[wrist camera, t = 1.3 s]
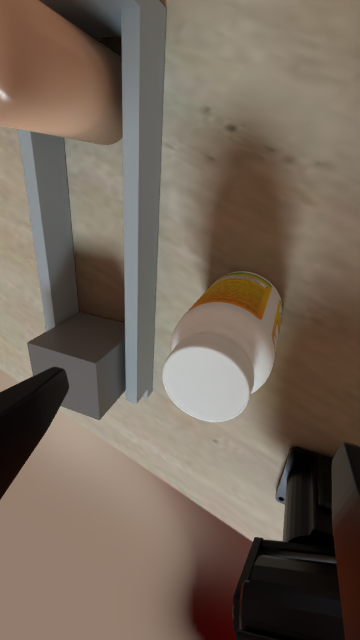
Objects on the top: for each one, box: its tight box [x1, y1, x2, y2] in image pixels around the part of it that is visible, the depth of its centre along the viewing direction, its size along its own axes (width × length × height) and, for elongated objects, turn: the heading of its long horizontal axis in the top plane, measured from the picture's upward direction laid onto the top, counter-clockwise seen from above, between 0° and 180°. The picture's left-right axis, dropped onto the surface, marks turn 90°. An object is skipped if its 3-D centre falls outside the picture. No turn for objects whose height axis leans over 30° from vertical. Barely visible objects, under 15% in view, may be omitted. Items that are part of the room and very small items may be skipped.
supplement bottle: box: [162, 271, 282, 422], centre depth 17 cm, size 5×5×10 cm
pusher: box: [27, 312, 126, 420], centre depth 24 cm, size 5×6×6 cm
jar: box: [0, 0, 123, 145], centre depth 15 cm, size 5×5×9 cm
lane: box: [17, 0, 166, 404], centre depth 21 cm, size 26×8×5 cm, turn 176°
